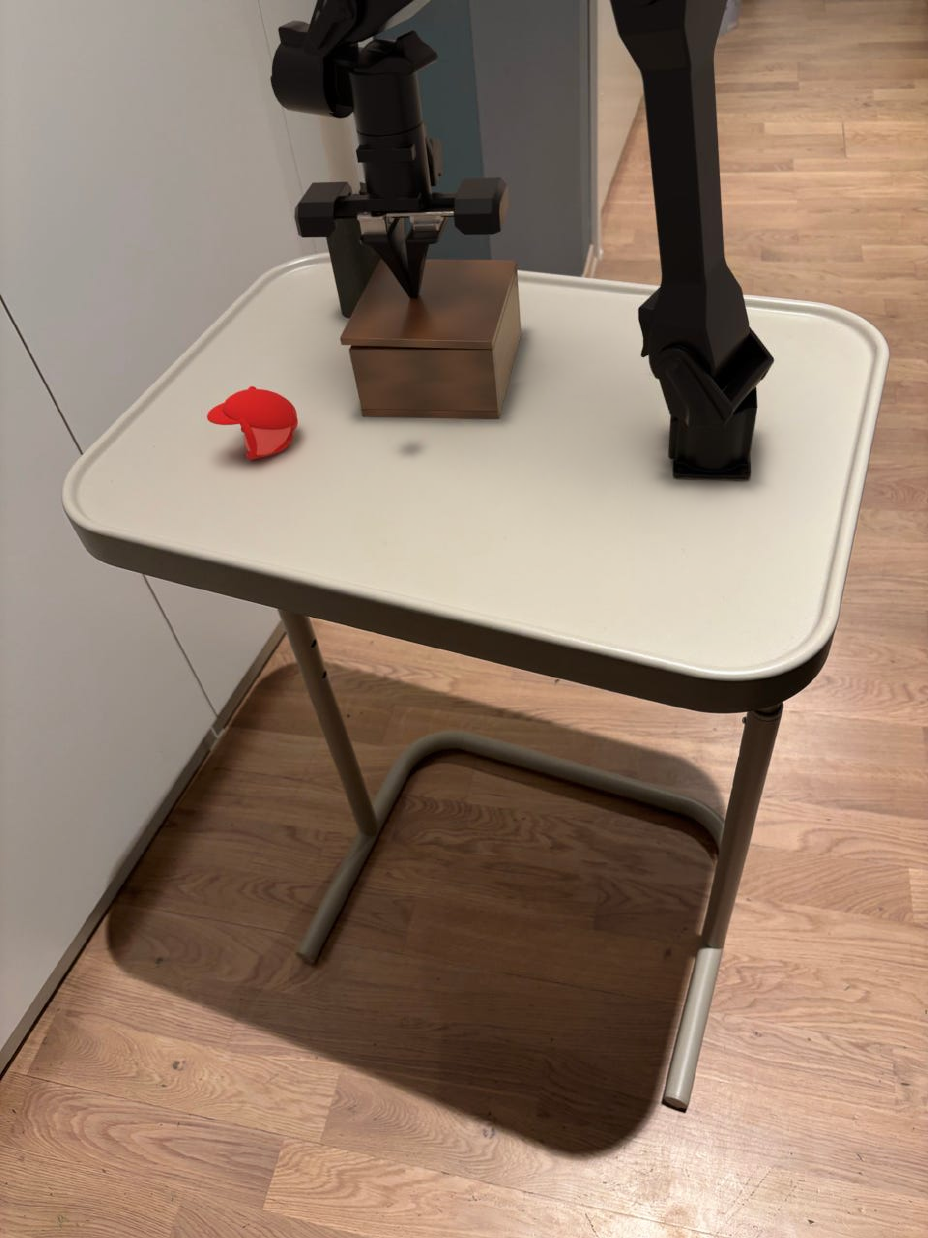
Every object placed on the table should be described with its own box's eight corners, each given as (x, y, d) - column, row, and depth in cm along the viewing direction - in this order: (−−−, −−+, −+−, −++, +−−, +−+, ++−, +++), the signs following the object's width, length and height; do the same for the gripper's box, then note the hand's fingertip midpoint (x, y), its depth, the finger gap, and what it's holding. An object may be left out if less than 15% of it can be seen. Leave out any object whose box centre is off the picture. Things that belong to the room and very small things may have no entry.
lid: (340, 345, 87) (339, 337, 86) (381, 265, 97) (380, 258, 97) (492, 349, 84) (491, 341, 84) (517, 267, 95) (516, 259, 94)
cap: (282, 416, 94) (267, 362, 89) (313, 440, 90) (299, 386, 86) (211, 451, 91) (192, 397, 87) (241, 477, 87) (222, 423, 83)
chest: (362, 416, 92) (348, 349, 87) (398, 333, 103) (387, 269, 97) (498, 418, 90) (492, 350, 84) (521, 333, 100) (517, 267, 95)
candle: (366, 295, 110) (321, 55, 92) (400, 304, 107) (360, 59, 89) (337, 315, 107) (285, 72, 89) (371, 324, 105) (325, 77, 87)
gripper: (512, 85, 83) (522, 255, 94) (312, 94, 86) (344, 257, 98) (492, 133, 75) (505, 312, 87) (274, 141, 79) (313, 312, 90)
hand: (414, 296), depth 91 cm, fingers closed
